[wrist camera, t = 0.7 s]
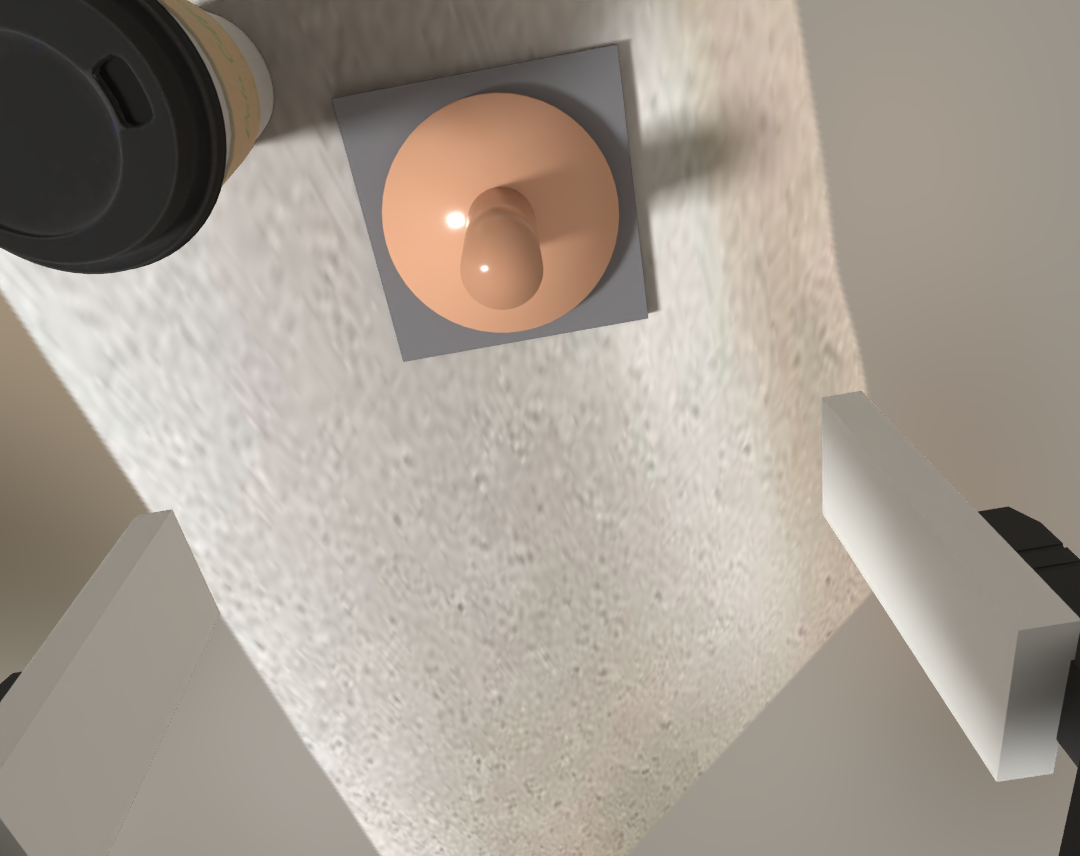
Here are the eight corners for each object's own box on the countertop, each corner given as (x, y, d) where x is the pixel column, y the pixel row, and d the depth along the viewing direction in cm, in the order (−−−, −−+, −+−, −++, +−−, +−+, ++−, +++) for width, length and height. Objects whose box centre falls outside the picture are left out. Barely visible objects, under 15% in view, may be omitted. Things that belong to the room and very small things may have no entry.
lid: (356, 116, 36) (316, 146, 28) (600, 70, 36) (628, 87, 28) (416, 343, 41) (396, 422, 34) (628, 304, 41) (660, 376, 33)
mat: (334, 98, 36) (331, 99, 36) (615, 44, 36) (617, 44, 35) (404, 357, 42) (403, 361, 42) (646, 314, 42) (648, 318, 41)
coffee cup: (354, 78, 36) (270, 118, 23) (238, 233, 39) (104, 348, 26) (167, -91, 33) (-58, -159, 20) (55, 93, 36) (-205, 142, 22)
